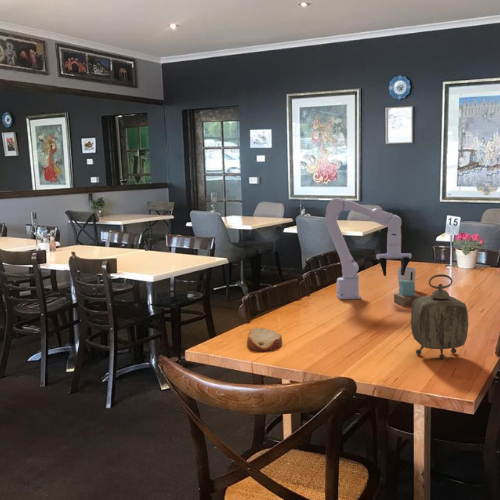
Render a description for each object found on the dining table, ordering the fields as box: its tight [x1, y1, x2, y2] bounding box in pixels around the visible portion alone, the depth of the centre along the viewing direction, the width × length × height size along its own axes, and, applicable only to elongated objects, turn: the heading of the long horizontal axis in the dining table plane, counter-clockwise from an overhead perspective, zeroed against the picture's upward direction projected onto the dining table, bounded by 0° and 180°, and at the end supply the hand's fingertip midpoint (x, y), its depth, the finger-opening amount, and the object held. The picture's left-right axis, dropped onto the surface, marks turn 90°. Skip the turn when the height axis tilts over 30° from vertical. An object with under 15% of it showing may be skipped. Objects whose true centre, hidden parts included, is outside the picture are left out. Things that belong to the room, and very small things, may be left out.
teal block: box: [398, 280, 416, 296], centre depth 229 cm, size 5×5×6 cm
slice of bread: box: [246, 327, 283, 353], centre depth 184 cm, size 18×18×4 cm
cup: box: [396, 266, 416, 283], centre depth 253 cm, size 8×8×10 cm
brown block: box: [393, 292, 422, 308], centre depth 229 cm, size 8×8×4 cm
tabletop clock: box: [410, 273, 469, 361], centre depth 162 cm, size 14×9×25 cm, turn 92°
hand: (393, 275), depth 236 cm, fingers open, 7 cm apart
